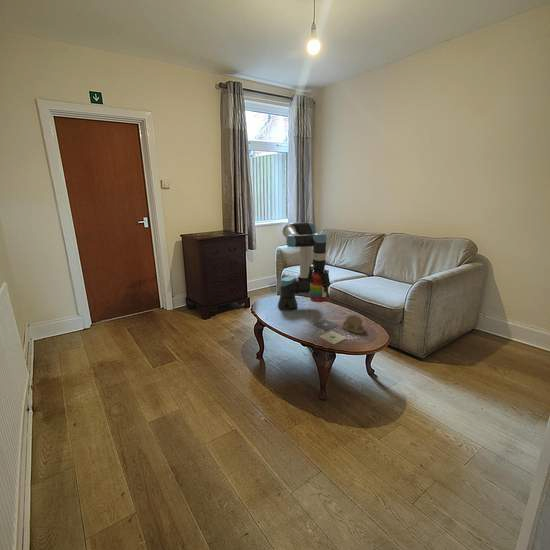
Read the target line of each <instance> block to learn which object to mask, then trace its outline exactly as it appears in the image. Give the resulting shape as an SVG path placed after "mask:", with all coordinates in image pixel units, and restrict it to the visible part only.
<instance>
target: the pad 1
mask: <svg viewBox="0 0 550 550" xmlns="http://www.w3.org/2000/svg"><path fill="white" fill-rule="evenodd" d="M313 325H314V326H315V327H317V326H318V328H320V329H322V330H323V331H326V332H327V331H329V330H331V329H333V328H336V327H337V326H339V324H337V323H335V322H332V321H330V320H328V319H326V318H325V319H322V320H319V321H317V322H314V323H313Z"/></svg>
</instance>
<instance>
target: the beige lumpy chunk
mask: <svg viewBox="0 0 550 550" xmlns="http://www.w3.org/2000/svg"><path fill="white" fill-rule="evenodd" d="M363 323H364V321H363V319H362V318H361V317H360V316H357V315H356V314H353V315H350V314H349V315H347V316H346V319H345V321H343V323H342V324H341V325H342V330H344V331H350V332H353V333H356V334H361V333H364V331H365V330H364V326H363Z"/></svg>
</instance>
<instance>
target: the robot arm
mask: <svg viewBox="0 0 550 550" xmlns="http://www.w3.org/2000/svg"><path fill="white" fill-rule="evenodd" d="M282 235H283V236H284V238H286V239H285V240H286V246H287V248H299V274H298V276H297V278H296V277H295V276H292V275H289V276H284V277H282V278H281V279H280V281H279V300H278V302H277V308H278V309H279V310H282V311H293V310H296V309H297V308H298V302H297V299H296V295H305V294H306V295H308V294H309V295H310V294H311V293H310V287H311V283H312V282H313V281H314V280H313V274H314V273H319V276H320V277H321V280H322V283H323V286H324V287H322V297H327V292H328V287H331V280H330V274H329V273H330V271H329V270H328V269H326V267H325V266H326V258H327V257H326V256H327V255H326V254H327V241H328V240H327V239H328V238H327V234H326V233H323V232H317V229H316V225H315V223H314V222H311V221H292V222H289V223H287V224H286V225H284V227H283V228H282ZM321 274H323V275H321Z"/></svg>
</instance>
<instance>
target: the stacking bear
mask: <svg viewBox="0 0 550 550" xmlns="http://www.w3.org/2000/svg"><path fill="white" fill-rule="evenodd" d="M312 275H313V280H314V281H313V282H312V283H311V287H310V293H309V294H310V301H311V302H313V303H325V302H328V301H329V300H330V298H329V297H327V296H326V297H322V287H324V286H323V283H322V280H321V277H320V276H319V273H314V274H312ZM321 275H323V274H321Z"/></svg>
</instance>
